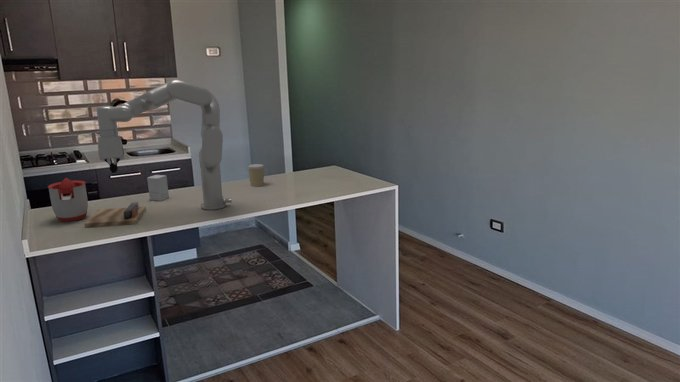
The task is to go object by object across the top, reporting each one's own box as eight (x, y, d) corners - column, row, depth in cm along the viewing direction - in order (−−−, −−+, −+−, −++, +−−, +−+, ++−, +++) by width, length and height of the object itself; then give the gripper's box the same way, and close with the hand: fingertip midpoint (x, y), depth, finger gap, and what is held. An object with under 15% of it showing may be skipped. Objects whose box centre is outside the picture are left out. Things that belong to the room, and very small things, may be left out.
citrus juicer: (51, 226, 217) (43, 184, 212) (55, 216, 233) (48, 176, 228) (89, 222, 223) (83, 180, 218) (91, 212, 239) (85, 172, 234)
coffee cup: (268, 184, 290) (267, 164, 287) (257, 187, 282) (256, 167, 279) (256, 182, 295) (255, 163, 292) (246, 185, 287) (244, 166, 284)
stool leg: (132, 208, 237) (131, 202, 236) (139, 207, 237) (138, 201, 236) (123, 218, 220) (122, 212, 219) (130, 218, 220) (129, 212, 220)
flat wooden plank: (146, 210, 240) (144, 199, 239) (136, 224, 220) (135, 212, 218) (99, 213, 237) (97, 202, 235) (84, 227, 216) (83, 216, 214)
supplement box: (169, 197, 263) (167, 175, 260) (160, 201, 256) (157, 178, 253) (158, 196, 266) (155, 174, 262) (149, 200, 259) (146, 177, 256)
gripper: (88, 135, 215) (94, 174, 220) (124, 133, 218) (129, 173, 222) (93, 132, 222) (99, 171, 227) (128, 131, 225) (132, 169, 229)
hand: (114, 172), depth 224 cm, fingers closed
